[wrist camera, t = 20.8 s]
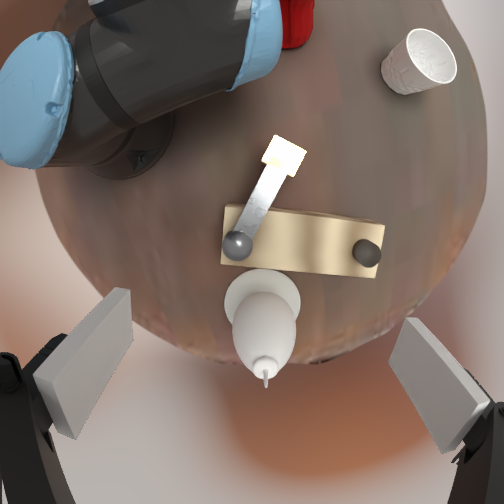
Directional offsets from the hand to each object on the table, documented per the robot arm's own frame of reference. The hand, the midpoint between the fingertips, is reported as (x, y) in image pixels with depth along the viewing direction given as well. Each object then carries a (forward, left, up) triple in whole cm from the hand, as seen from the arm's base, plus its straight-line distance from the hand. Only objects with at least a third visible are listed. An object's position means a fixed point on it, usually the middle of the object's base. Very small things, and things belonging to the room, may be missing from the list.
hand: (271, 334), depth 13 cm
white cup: (+19, +26, -28) cm, 42 cm away
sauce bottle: (+2, -11, -27) cm, 30 cm away
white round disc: (+2, -11, -28) cm, 30 cm away
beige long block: (+5, -1, -28) cm, 28 cm away
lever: (-1, +4, -23) cm, 23 cm away
